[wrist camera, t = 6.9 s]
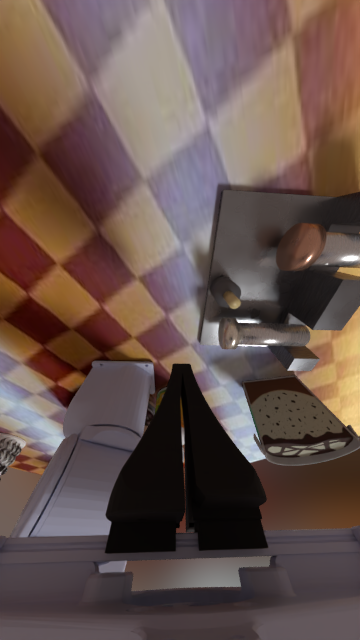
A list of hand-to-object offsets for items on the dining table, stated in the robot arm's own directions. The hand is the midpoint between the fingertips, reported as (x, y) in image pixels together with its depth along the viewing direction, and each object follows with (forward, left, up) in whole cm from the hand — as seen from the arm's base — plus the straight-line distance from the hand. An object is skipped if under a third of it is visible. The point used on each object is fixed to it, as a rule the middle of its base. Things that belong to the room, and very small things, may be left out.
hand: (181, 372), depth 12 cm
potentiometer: (+5, +4, -8) cm, 10 cm away
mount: (+10, +4, -9) cm, 14 cm away
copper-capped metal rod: (+14, +9, -7) cm, 18 cm away
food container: (+17, -15, -9) cm, 25 cm away
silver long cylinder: (+10, 0, -7) cm, 12 cm away
